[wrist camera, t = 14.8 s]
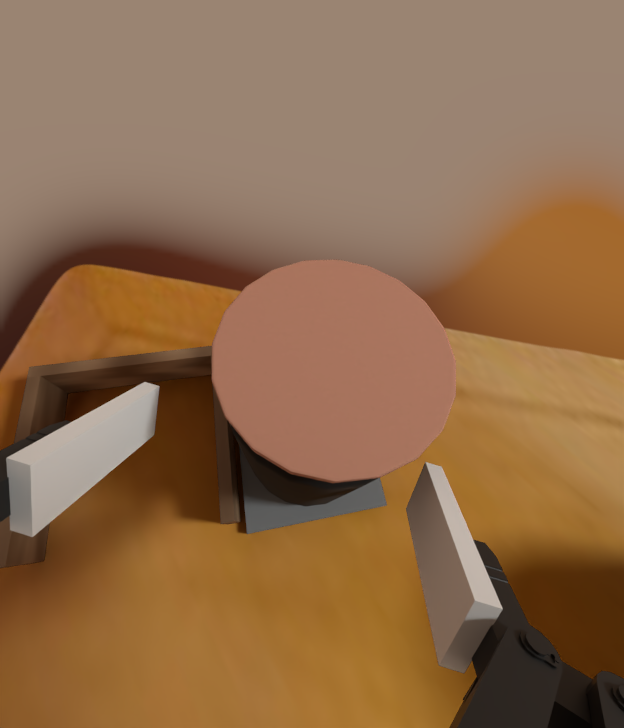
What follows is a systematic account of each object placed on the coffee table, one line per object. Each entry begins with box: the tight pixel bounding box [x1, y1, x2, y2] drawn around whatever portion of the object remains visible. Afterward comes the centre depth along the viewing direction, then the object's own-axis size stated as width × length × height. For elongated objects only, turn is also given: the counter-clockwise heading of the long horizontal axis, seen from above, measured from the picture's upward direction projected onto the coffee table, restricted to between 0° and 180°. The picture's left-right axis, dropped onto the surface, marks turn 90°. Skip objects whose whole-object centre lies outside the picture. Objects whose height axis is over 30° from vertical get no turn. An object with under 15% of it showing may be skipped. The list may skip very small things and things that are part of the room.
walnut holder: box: [0, 346, 241, 568], centre depth 28 cm, size 16×15×4 cm
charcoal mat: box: [239, 446, 387, 534], centre depth 31 cm, size 12×13×1 cm
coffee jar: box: [212, 260, 456, 506], centre depth 22 cm, size 11×11×18 cm
